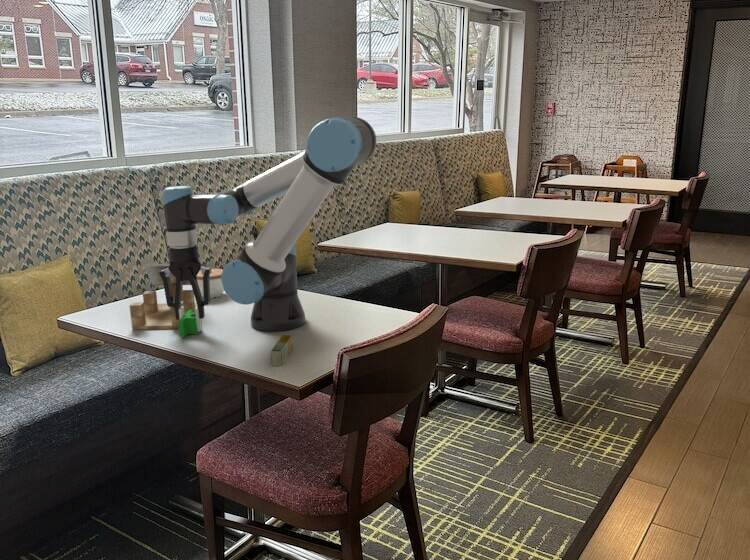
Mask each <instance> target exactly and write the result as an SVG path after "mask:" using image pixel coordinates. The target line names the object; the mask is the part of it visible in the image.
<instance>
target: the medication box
mask: <svg viewBox="0 0 750 560" xmlns="http://www.w3.org/2000/svg"><path fill="white" fill-rule="evenodd" d="M293 341H294V340H293V335H291V334H290V335H289V334H282V335H281V337H280V338H279V340H277V342H276V343H275V345H274V346H273V348H272V349H271V350H270V366H271V367H282V365H283V364H284V362H285V361H286V360H287V358H288V357H289V355H290V354H291V352H292V350H293V344H294V343H293Z"/></svg>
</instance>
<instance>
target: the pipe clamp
mask: <svg viewBox="0 0 750 560" xmlns="http://www.w3.org/2000/svg"><path fill="white" fill-rule="evenodd" d="M193 334H194V335H197V334H198V332H197V323H196V314H195V312H193V310H188V311H187V312H186V313H185V315H184V316H183V317H182V318H181V319H180V320H179V338H180V339H184V338H185V337H186V336H187V335H193Z"/></svg>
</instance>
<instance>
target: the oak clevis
mask: <svg viewBox="0 0 750 560" xmlns="http://www.w3.org/2000/svg"><path fill="white" fill-rule="evenodd" d="M183 286H184V285H182V297H181V305H180V306H184V312H185V313H186V312H187V311H188V310H193V312H195V308H196V307H197V303H196V300H195V296H194V293H193V289H183V288H184V287H183ZM171 288H172V294H173V300H174V301H175V289H176V285H171ZM142 298H143V299H142V300H143V302H141V301H139V302H137V301H136V302H134V301H133V302H132V303H130V304H129V313H130V320H131V321H130V322H131V330H132V329H146V330H173V329H175V330H176V329H177V330H178V329H179V320H177V319H176V314H175V309H174V308H173V307H168V306H167V303H158V296H157V291H156V290H145V291H144V292H143V293H142Z"/></svg>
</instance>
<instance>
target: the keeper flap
mask: <svg viewBox="0 0 750 560" xmlns="http://www.w3.org/2000/svg"><path fill="white" fill-rule="evenodd" d="M169 264H170V262H169V263H145V266H144V267H145V269H146V270H145V271H146V272H147V275H148V278H149V280H150V283H151V286H152V287H160V286H161V287H164V284H163V280H162V278H161V276H160V274H159V273H160V272H161V271H162V270H163V269H167V268H168V267H169ZM169 277H170V282H171V285H176V277H175V276H174V275H173V274H172V273H171V272H170V276H169ZM182 286H191V284H190V281H188V280H184V281H183V285H182Z"/></svg>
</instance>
